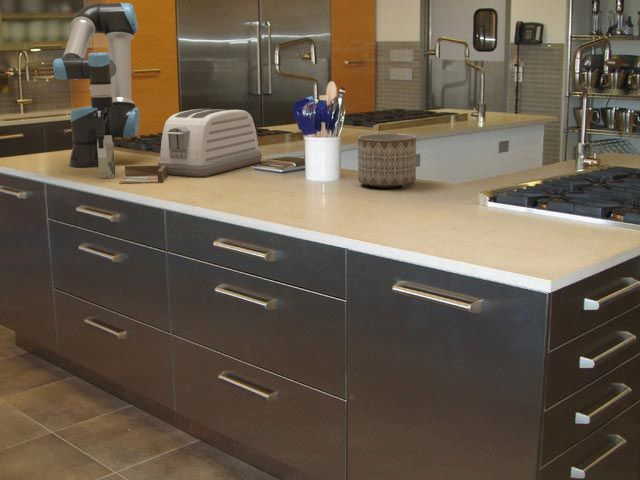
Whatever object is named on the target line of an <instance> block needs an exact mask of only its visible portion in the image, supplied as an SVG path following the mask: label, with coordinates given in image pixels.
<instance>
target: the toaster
mask: <svg viewBox="0 0 640 480" xmlns="http://www.w3.org/2000/svg"><path fill="white" fill-rule="evenodd" d="M162 131H163V132H162V136H161V143H160V160H159V161H157V165H166V167H167V176H179V177H195V178H204V177H209V176H213V175H218V174H221V173H225V172H229V171H232V170H235V169H236V170H237V169H239V168H243V167H247V166H251V165H255V164H258V163H260V162H262V158H263V155H262V150H260V149H259V140H258V135H257V134H258V133H257V130H256V126H255V123H254V119H253V117H252V115H251V114H250V113H249V112H248V111H246V110H243V109H224V108H222V109H221V108H216V109H213V108H197V109H196V108H195V109H190V110H185V111H179V112H177V113H175V114H173V115H172V114H171V116H169V117H168V119H167V120H165V123H164V126H163V130H162Z"/></svg>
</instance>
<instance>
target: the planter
mask: <svg viewBox="0 0 640 480" xmlns="http://www.w3.org/2000/svg"><path fill="white" fill-rule="evenodd" d="M416 168H417V135H414V134H408V133H397V132H394V133H393V132H389V133H387V132H386V133H368V134H360V135H359V136H358V137H357V178H358V179H357V180H358V182H359V183H360V184H362V185H368V186H371V187H372V188H376V189H377V188H379V189H395V188H400V187H403V186H406V185H410V184H413V183H415V182H416V180H417V175H416V174H417V169H416Z"/></svg>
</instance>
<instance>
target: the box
mask: <svg viewBox="0 0 640 480" xmlns="http://www.w3.org/2000/svg"><path fill="white" fill-rule="evenodd" d="M105 145H106V157H105V158H98V164H99V166H98V174H99V175H98V178H100V179H111V178H114V177H116V166H115V165H116V163H115V151H114V142H113V141H112V142H105ZM97 151H98V146H97Z"/></svg>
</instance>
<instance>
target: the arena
mask: <svg viewBox="0 0 640 480" xmlns="http://www.w3.org/2000/svg"><path fill="white" fill-rule="evenodd" d="M124 174H125V175H124V177H123V178H122V179H121V180H120V181H119V184H118V185H124V184H125V185H126V184H127V185H130V184H133V185H134V184H135V185H136V184H162V183H163V182H164V181H165V180H166V178H167V177H168V175H167V167H166V165H158V164H156V165H155V164H154V165H152V164H151V165H150V164H149V165H125V166H124Z"/></svg>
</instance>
